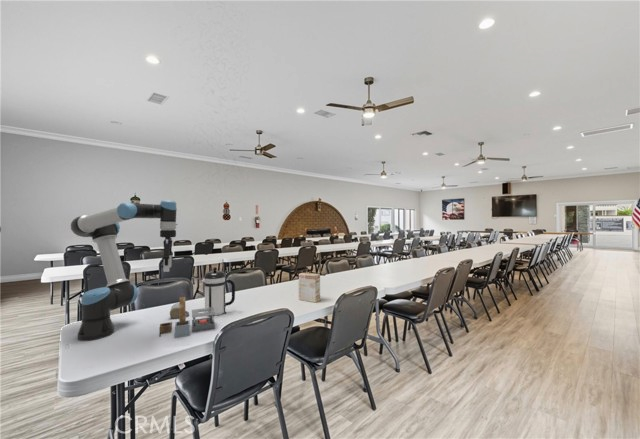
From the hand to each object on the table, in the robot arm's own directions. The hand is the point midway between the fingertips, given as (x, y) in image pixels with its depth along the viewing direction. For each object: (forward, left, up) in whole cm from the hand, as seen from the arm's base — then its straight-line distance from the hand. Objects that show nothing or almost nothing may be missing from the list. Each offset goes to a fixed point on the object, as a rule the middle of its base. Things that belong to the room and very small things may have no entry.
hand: (167, 269), depth 153 cm
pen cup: (+7, -11, -33) cm, 36 cm away
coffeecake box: (+91, +22, -33) cm, 99 cm away
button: (+17, -5, -33) cm, 38 cm away
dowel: (+7, -11, -33) cm, 36 cm away
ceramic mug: (+5, +24, -34) cm, 42 cm away
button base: (+17, -5, -33) cm, 38 cm away
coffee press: (+26, +18, -33) cm, 46 cm away
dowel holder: (-1, -3, -33) cm, 33 cm away
